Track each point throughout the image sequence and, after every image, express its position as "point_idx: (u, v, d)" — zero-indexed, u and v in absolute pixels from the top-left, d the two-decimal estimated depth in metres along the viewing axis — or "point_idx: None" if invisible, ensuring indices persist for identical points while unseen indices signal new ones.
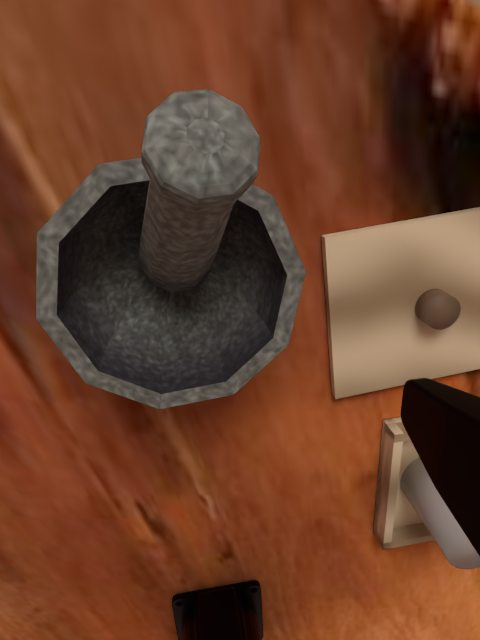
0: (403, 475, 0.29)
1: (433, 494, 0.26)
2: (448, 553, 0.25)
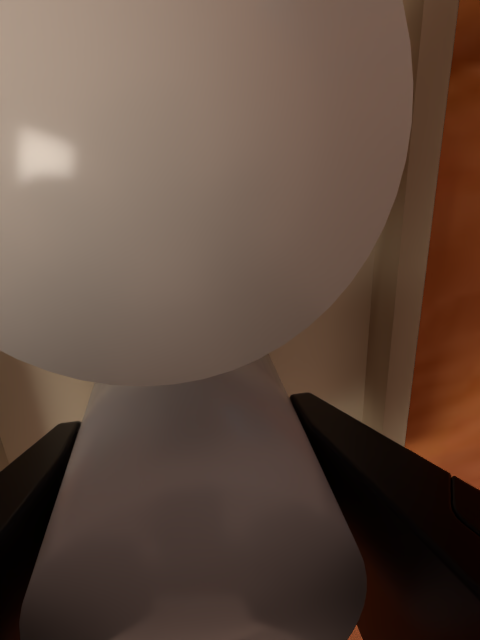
0: None
1: None
2: None
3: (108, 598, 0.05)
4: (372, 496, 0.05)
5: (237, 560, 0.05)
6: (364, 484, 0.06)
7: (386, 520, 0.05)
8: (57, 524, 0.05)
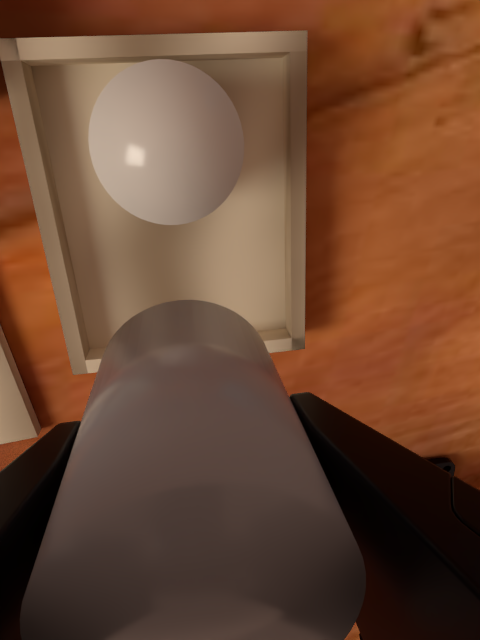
0: None
1: None
2: None
3: (108, 594, 0.05)
4: (372, 496, 0.05)
5: (237, 557, 0.05)
6: (364, 484, 0.06)
7: (386, 520, 0.05)
8: (57, 520, 0.05)
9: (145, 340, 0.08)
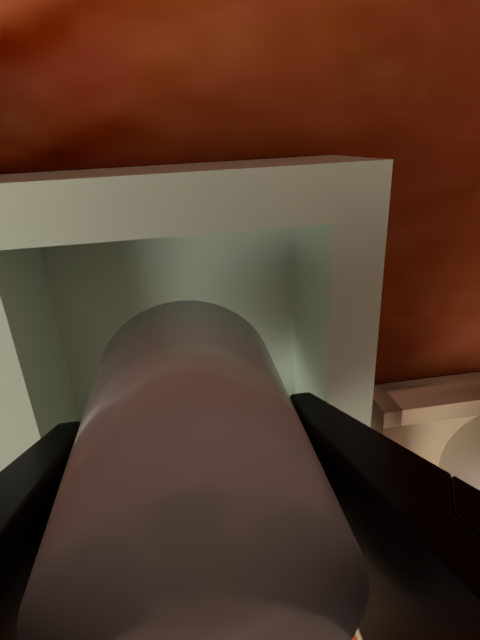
0: None
1: None
2: None
3: (107, 600, 0.05)
4: (372, 496, 0.05)
5: (238, 563, 0.05)
6: (364, 484, 0.06)
7: (386, 520, 0.05)
8: (55, 526, 0.05)
9: (145, 341, 0.08)
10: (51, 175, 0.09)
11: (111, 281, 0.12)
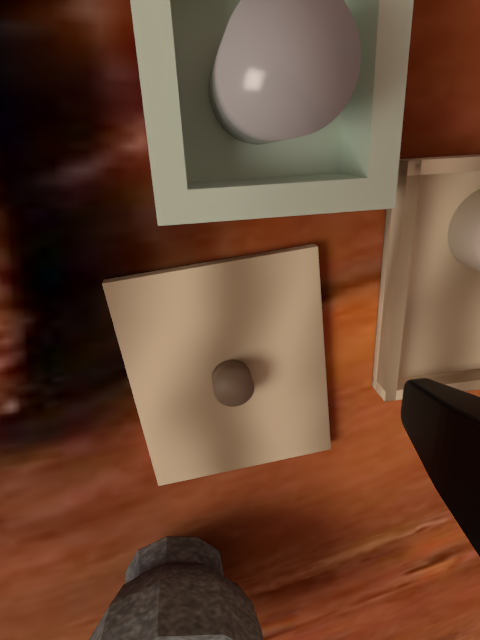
0: (238, 139, 0.17)
1: (227, 117, 0.15)
2: (293, 133, 0.13)
3: (262, 26, 0.12)
4: None
5: (312, 26, 0.12)
6: None
7: None
8: None
9: None
10: None
11: (215, 40, 0.16)
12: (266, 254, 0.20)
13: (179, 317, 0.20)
